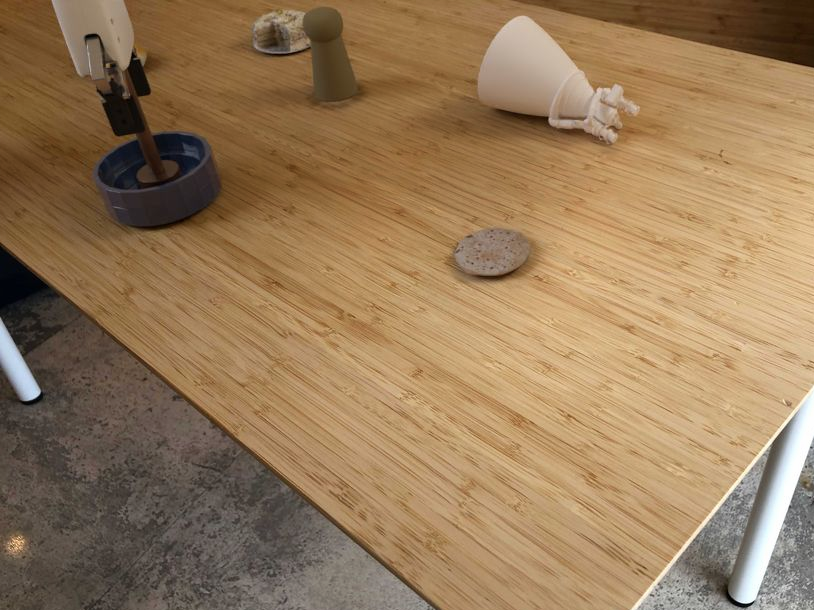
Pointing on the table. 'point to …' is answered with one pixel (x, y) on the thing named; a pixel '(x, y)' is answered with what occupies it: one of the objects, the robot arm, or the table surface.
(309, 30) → the olive game pawn
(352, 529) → the table surface
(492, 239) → the flatbread
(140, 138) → the brown pestle
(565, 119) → the rocket engine
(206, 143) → the bowl
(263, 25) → the cake
